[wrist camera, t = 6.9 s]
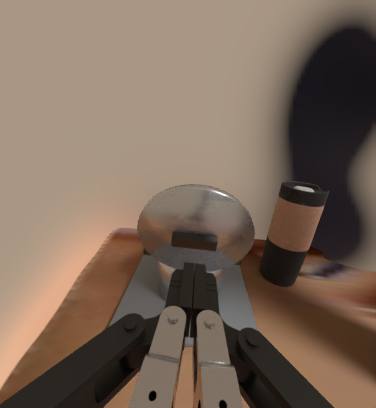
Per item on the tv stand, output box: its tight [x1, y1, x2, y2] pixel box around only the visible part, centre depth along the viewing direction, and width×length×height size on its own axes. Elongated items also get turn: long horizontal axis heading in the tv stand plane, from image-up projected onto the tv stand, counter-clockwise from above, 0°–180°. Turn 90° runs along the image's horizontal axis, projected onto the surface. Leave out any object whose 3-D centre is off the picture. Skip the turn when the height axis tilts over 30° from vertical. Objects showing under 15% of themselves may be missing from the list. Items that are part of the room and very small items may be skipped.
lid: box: [137, 184, 255, 272], centre depth 22 cm, size 13×14×2 cm
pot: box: [144, 248, 241, 302], centre depth 34 cm, size 16×13×9 cm
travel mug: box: [260, 181, 329, 287], centre depth 37 cm, size 8×8×20 cm
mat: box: [109, 254, 258, 347], centre depth 36 cm, size 22×22×1 cm
